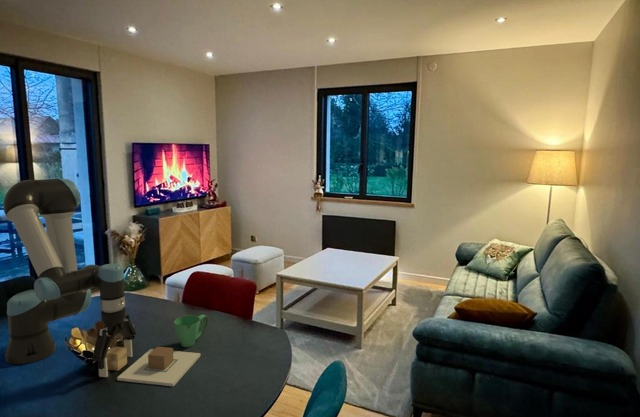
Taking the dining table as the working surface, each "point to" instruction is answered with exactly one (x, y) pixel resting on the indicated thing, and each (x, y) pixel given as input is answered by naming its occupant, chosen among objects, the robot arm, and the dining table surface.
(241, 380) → the dining table surface
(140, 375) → the cream square board
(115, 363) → the oak block
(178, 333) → the mug
